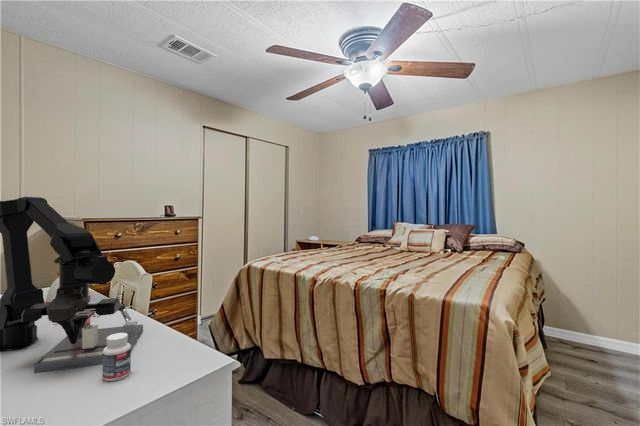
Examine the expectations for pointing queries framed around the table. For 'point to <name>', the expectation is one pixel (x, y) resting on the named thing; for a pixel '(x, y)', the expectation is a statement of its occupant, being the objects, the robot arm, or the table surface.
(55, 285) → the kitchen timer
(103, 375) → the pill bottle
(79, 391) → the table surface
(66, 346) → the panel
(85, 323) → the button
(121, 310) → the toggle
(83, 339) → the fader
